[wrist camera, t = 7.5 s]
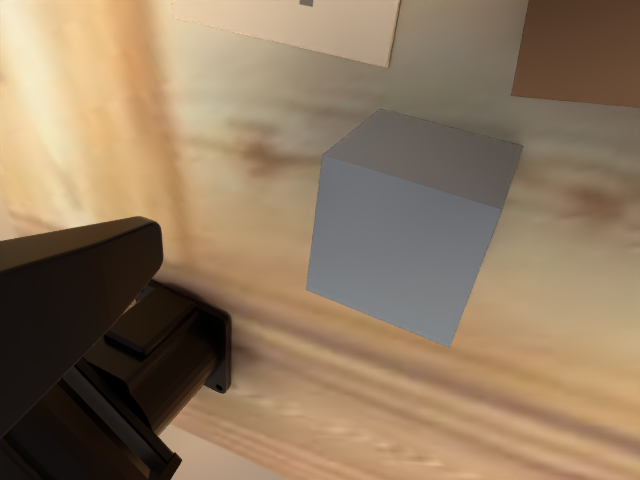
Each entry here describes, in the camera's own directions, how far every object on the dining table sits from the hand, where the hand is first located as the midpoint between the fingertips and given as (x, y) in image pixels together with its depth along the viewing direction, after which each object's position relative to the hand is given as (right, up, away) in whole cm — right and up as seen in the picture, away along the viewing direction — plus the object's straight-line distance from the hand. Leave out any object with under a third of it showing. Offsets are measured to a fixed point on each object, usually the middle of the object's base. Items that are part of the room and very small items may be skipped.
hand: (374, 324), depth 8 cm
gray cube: (+3, +3, +10) cm, 11 cm away
